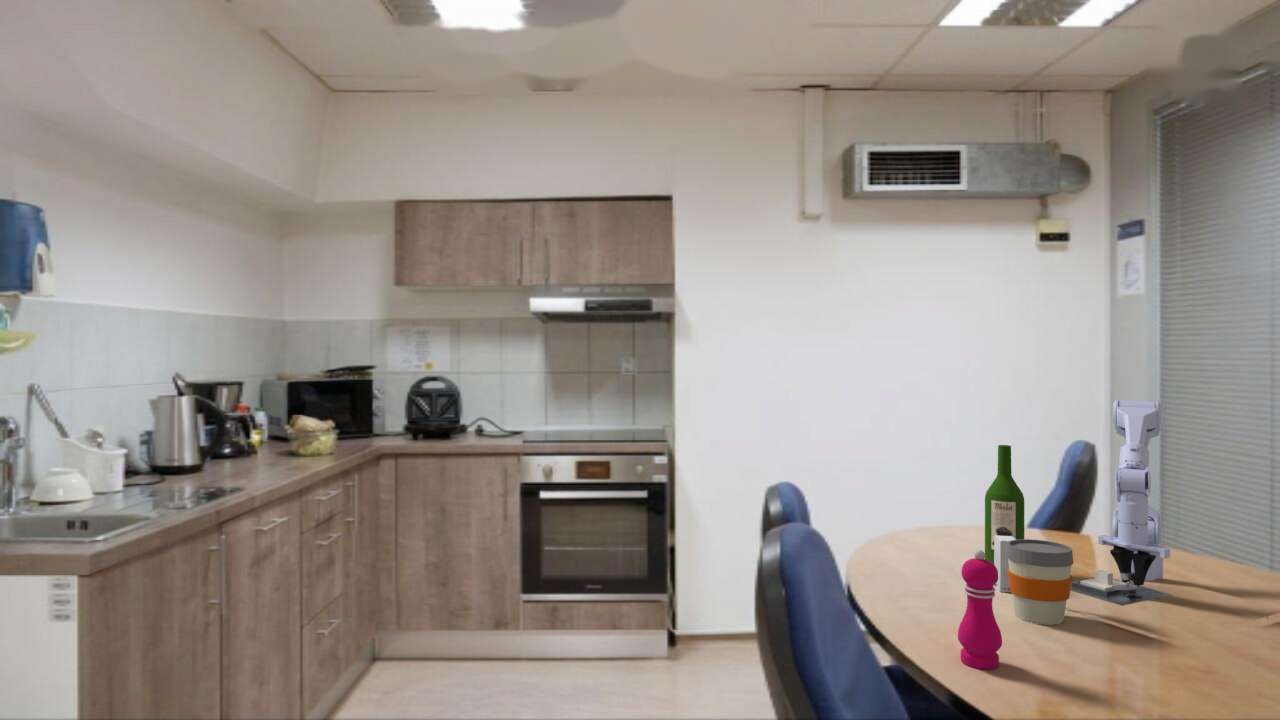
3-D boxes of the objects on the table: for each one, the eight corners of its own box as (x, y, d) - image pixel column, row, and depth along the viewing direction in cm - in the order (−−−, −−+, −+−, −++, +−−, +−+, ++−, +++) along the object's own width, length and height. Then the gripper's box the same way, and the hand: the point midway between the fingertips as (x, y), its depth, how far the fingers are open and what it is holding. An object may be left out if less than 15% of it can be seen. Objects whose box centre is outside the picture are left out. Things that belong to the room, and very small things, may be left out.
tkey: (1111, 593, 171) (1111, 572, 171) (1140, 592, 172) (1140, 571, 172) (1116, 595, 169) (1116, 574, 169) (1145, 594, 170) (1145, 573, 170)
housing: (1103, 581, 186) (1103, 573, 186) (1173, 600, 171) (1173, 591, 171) (1053, 590, 178) (1053, 582, 178) (1121, 610, 164) (1121, 601, 164)
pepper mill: (950, 655, 139) (950, 545, 139) (988, 654, 139) (988, 544, 139) (970, 671, 132) (970, 555, 132) (1010, 670, 132) (1010, 554, 132)
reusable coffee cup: (1047, 632, 151) (1047, 556, 151) (992, 613, 162) (992, 542, 162) (1087, 622, 157) (1087, 549, 157) (1031, 604, 168) (1031, 536, 168)
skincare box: (1019, 593, 176) (1019, 541, 176) (1000, 592, 177) (1000, 540, 177) (1012, 585, 182) (1012, 535, 182) (993, 584, 183) (993, 534, 183)
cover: (1102, 582, 181) (1102, 566, 181) (1127, 589, 176) (1127, 573, 176) (1080, 586, 178) (1080, 570, 178) (1105, 593, 172) (1105, 577, 172)
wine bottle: (985, 578, 188) (985, 446, 188) (984, 569, 196) (984, 443, 196) (1026, 582, 185) (1026, 448, 185) (1022, 573, 193) (1022, 444, 193)
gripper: (1090, 517, 175) (1089, 577, 175) (1156, 530, 162) (1156, 594, 162) (1109, 515, 178) (1108, 573, 178) (1175, 527, 165) (1175, 590, 165)
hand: (1132, 583), depth 171 cm, fingers closed on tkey, 2 cm apart
